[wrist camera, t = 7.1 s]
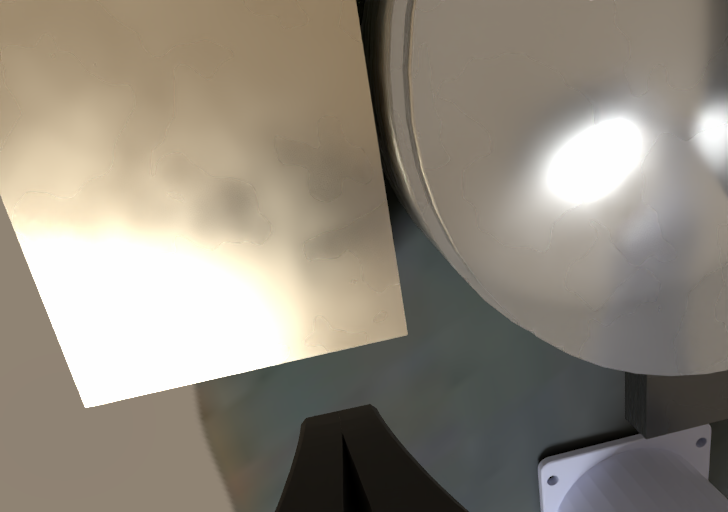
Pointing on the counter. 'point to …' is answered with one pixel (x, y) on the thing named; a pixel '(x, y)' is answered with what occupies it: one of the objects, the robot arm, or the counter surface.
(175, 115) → the cooker pot
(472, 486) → the counter surface
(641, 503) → the robot arm
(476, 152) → the cooker lid
